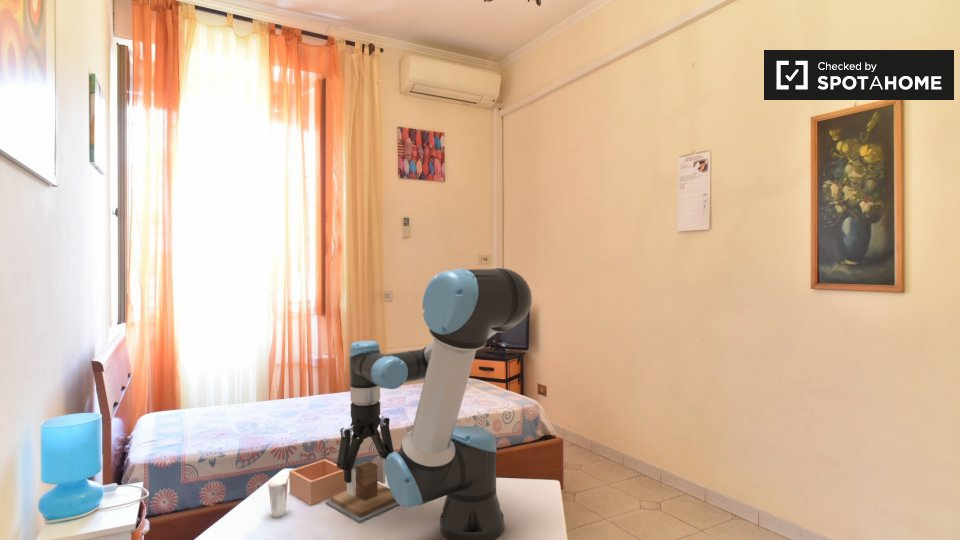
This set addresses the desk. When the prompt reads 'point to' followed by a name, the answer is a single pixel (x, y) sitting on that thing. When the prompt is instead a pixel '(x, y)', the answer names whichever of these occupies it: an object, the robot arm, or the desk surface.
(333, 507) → the mat
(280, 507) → the milkshake
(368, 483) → the lid
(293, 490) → the open peach box
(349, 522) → the desk surface
